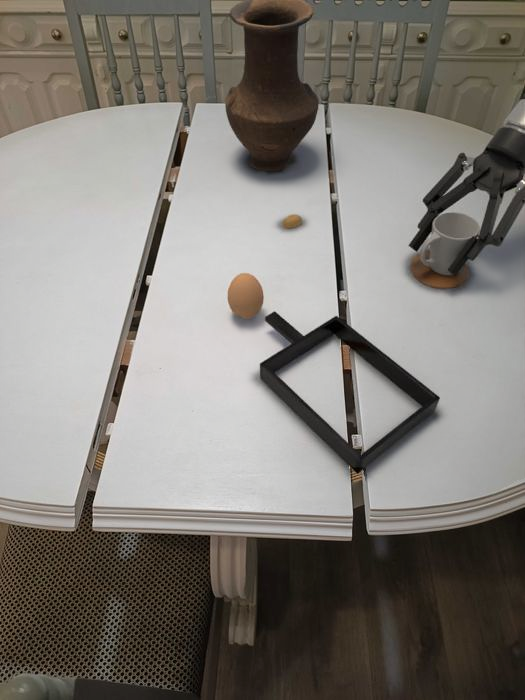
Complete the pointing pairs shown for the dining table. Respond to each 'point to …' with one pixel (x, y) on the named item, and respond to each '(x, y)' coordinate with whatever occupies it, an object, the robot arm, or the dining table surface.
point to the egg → (245, 295)
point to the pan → (371, 355)
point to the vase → (271, 83)
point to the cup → (448, 240)
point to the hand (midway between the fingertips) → (431, 260)
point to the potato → (292, 221)
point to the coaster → (436, 275)
